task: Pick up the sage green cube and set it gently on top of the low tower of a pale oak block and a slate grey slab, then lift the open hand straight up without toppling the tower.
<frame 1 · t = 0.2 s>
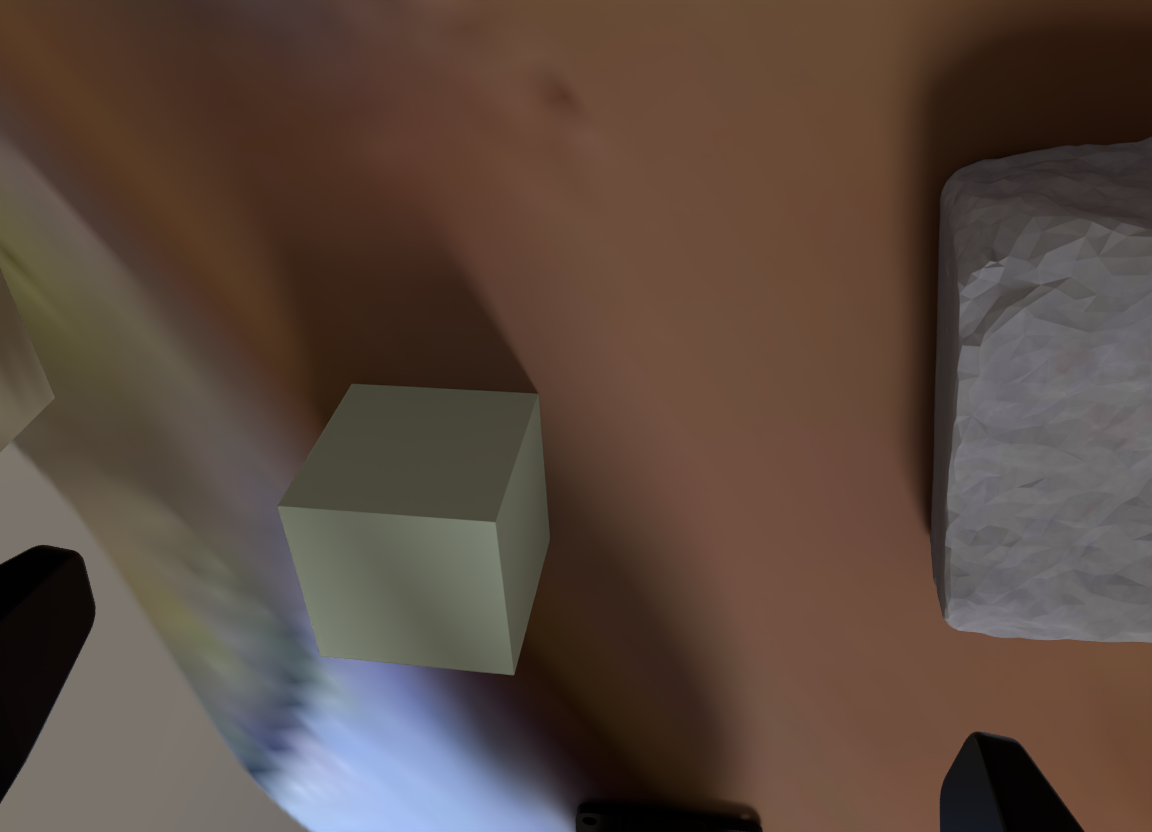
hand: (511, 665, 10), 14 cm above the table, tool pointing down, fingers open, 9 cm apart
sage cube: (455, 462, 27), on the table
stone block: (1151, 360, 23), on the table
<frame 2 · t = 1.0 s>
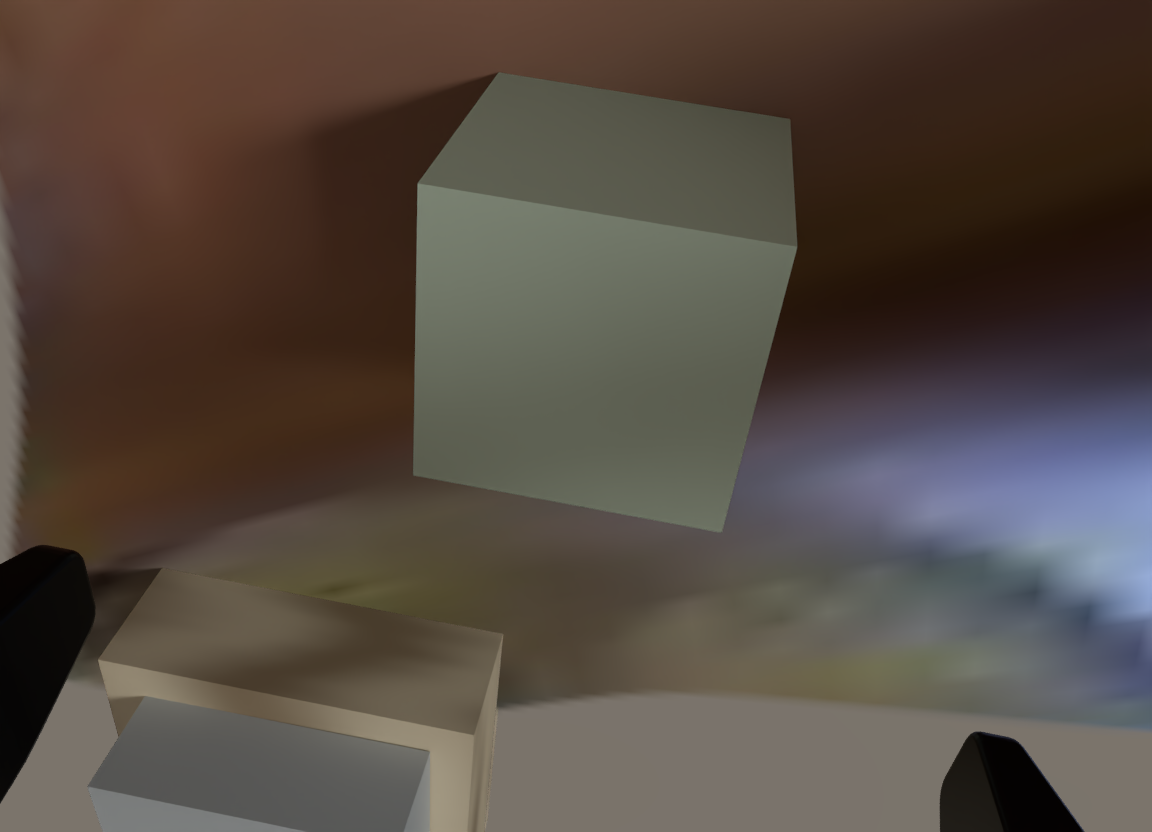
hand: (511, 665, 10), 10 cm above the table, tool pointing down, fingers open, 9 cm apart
oak base block: (342, 698, 29), on the table, touching slate slab
slate slab: (297, 808, 26), point 3 cm above the table, touching oak base block
sage cube: (623, 228, 18), on the table
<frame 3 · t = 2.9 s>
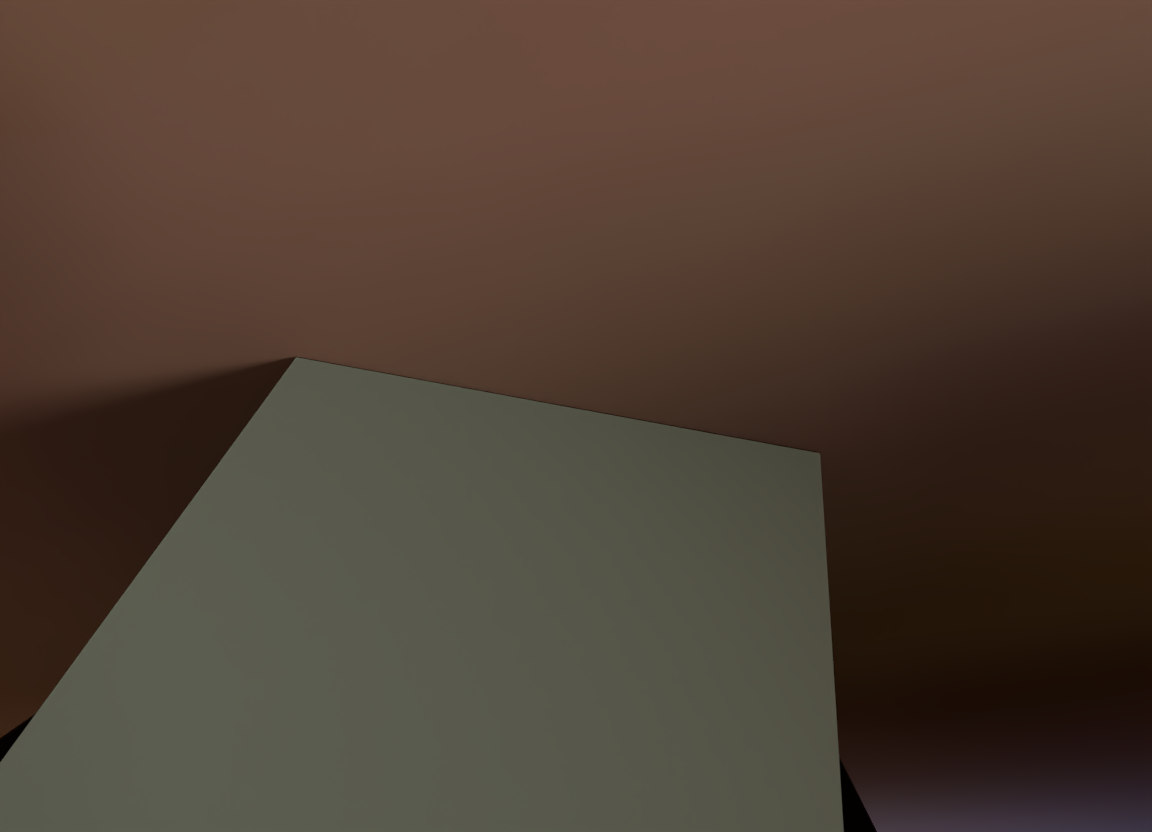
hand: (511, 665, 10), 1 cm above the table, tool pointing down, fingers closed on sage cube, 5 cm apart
sage cube: (531, 590, 11), on the table, touching gripper
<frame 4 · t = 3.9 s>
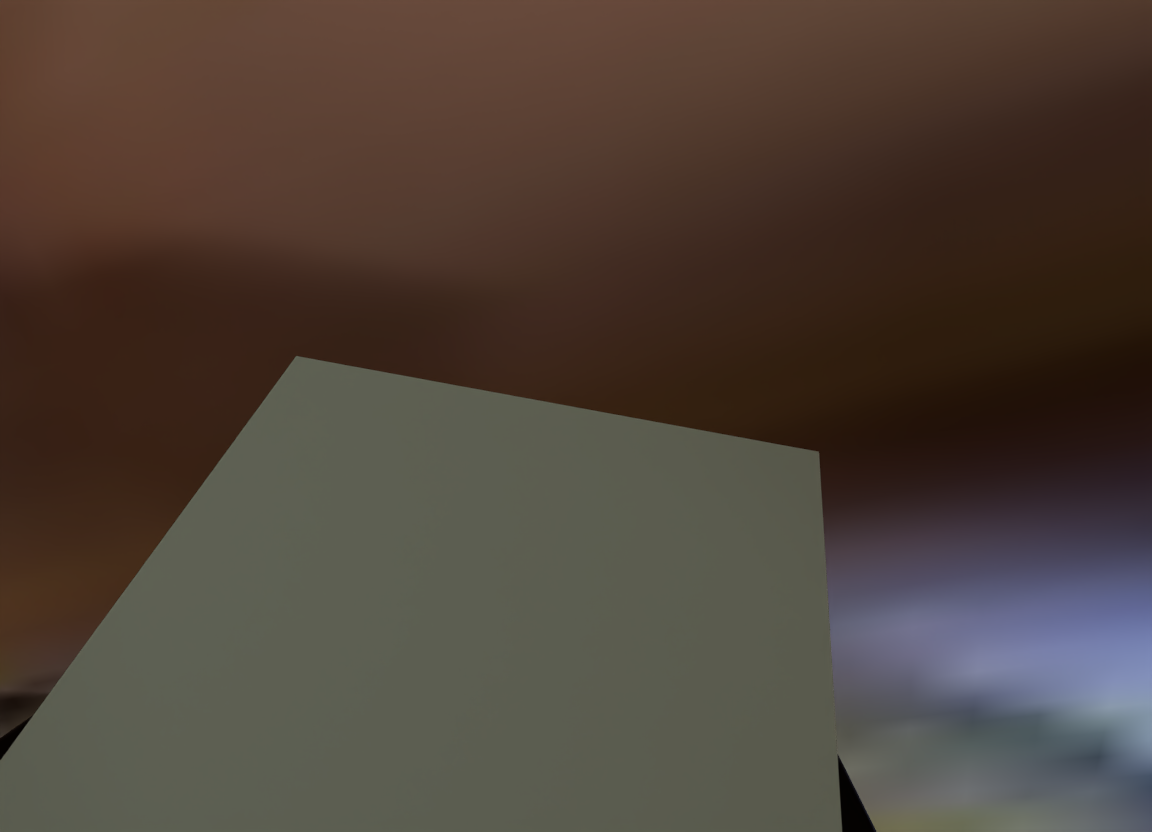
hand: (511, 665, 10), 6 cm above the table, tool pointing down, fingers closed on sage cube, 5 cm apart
sage cube: (531, 589, 11), point 5 cm above the table, touching gripper
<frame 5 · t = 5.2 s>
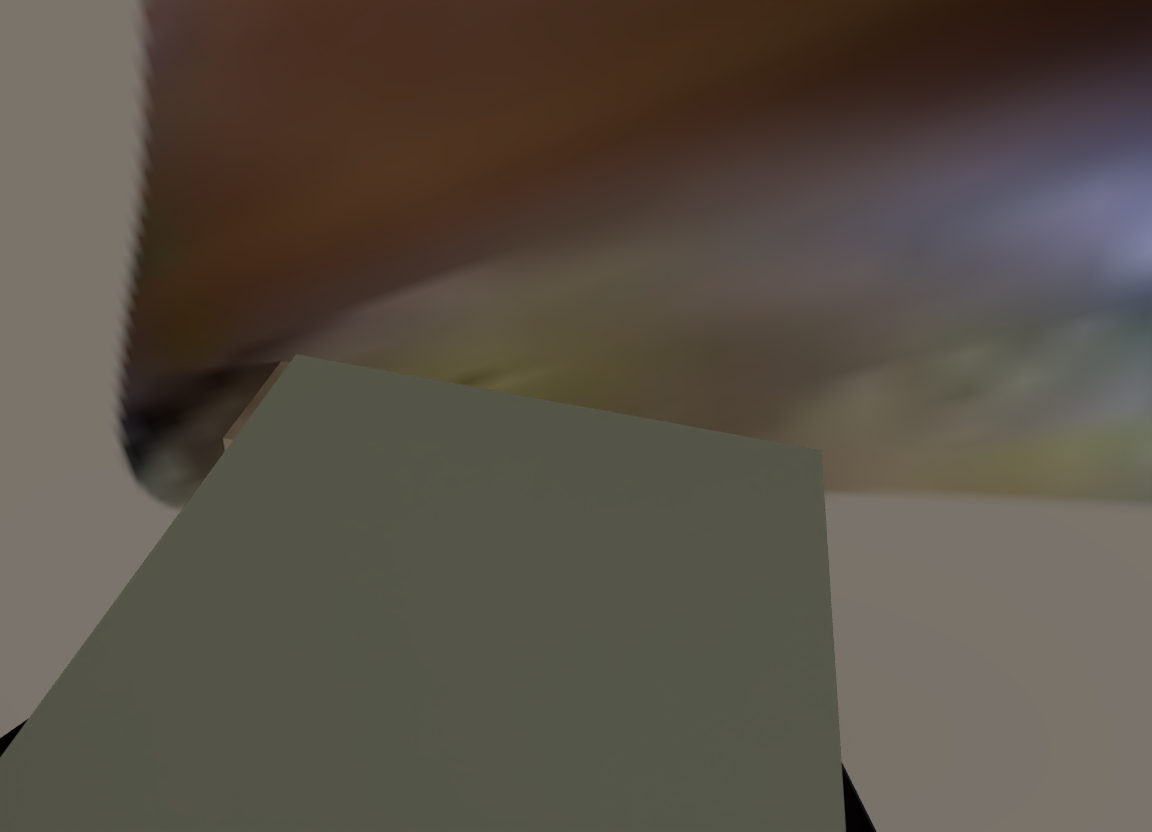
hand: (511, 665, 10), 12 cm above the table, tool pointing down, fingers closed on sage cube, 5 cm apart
oak base block: (463, 521, 27), on the table, touching slate slab
sage cube: (532, 588, 11), point 11 cm above the table, touching gripper
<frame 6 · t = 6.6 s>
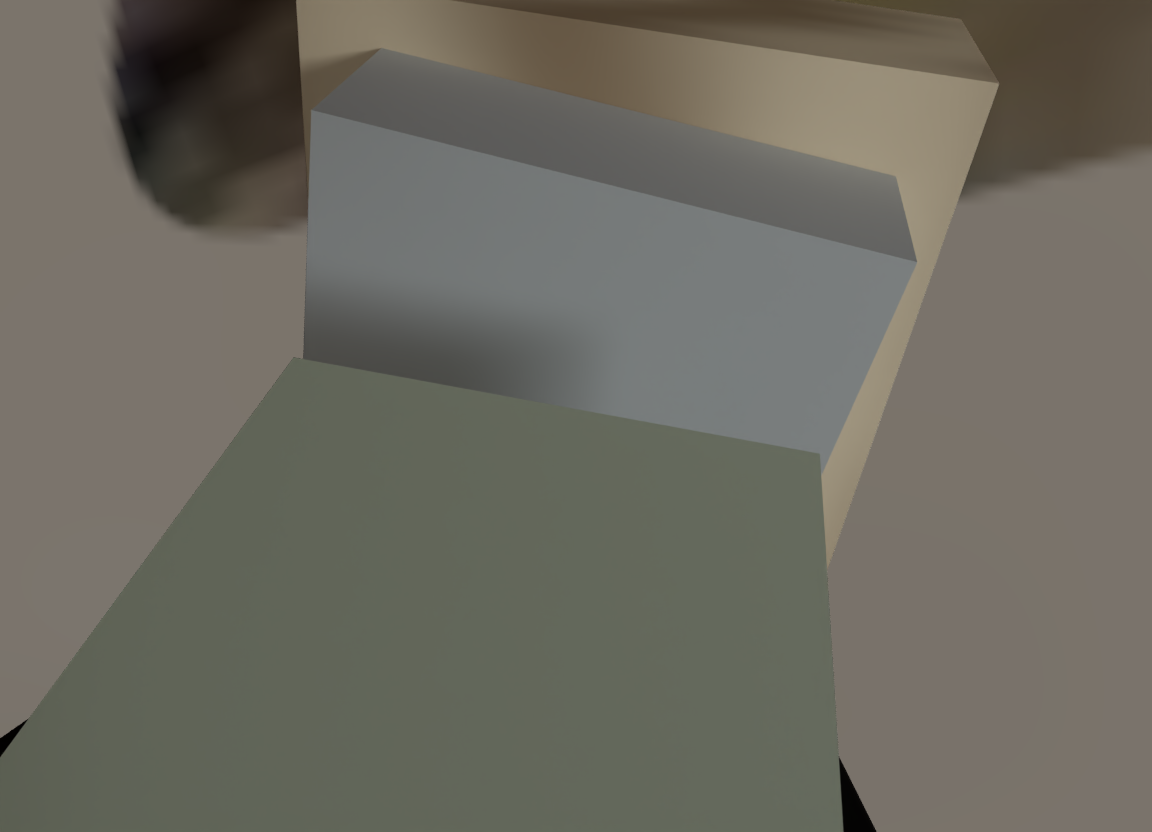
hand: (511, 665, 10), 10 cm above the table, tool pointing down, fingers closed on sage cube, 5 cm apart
oak base block: (624, 234, 18), on the table, touching slate slab
slate slab: (585, 331, 15), point 3 cm above the table, touching oak base block
sage cube: (530, 591, 11), point 9 cm above the table, touching gripper
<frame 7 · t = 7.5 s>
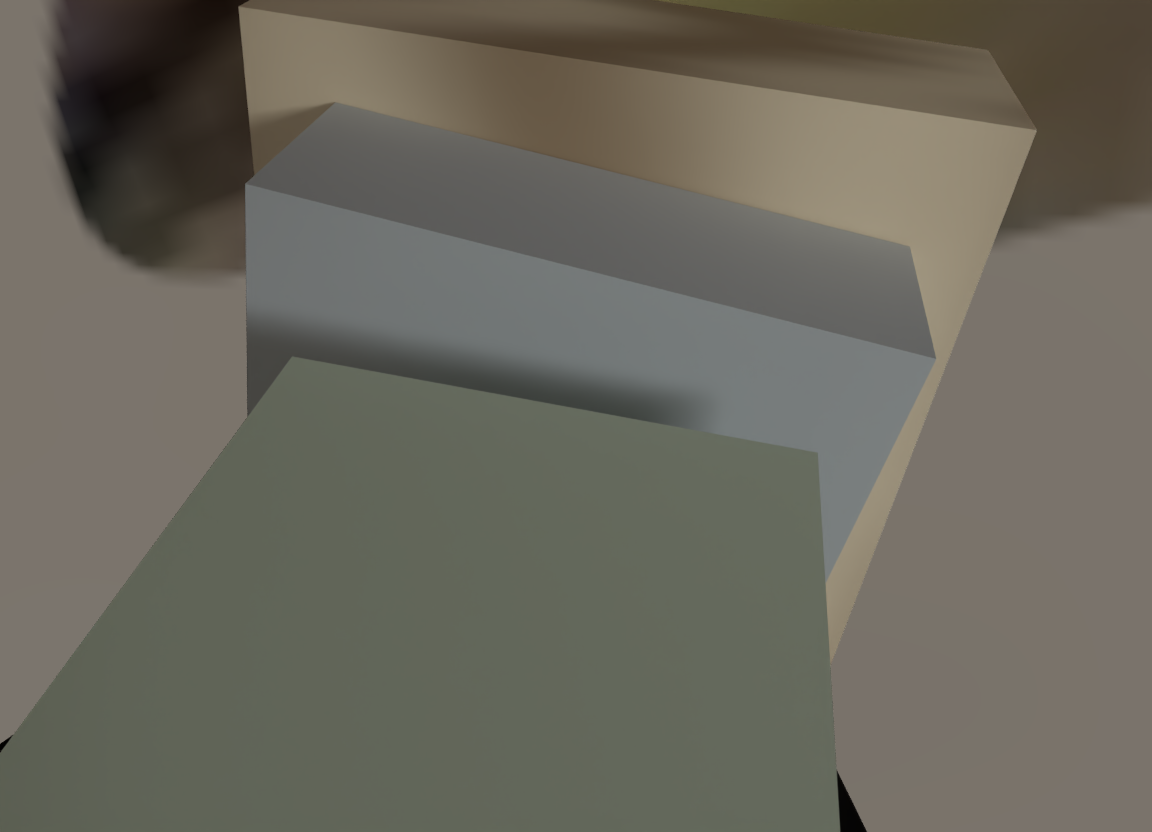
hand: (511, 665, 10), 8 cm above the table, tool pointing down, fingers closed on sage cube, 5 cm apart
oak base block: (616, 278, 17), on the table, touching slate slab
slate slab: (566, 406, 14), point 3 cm above the table, touching oak base block
sage cube: (528, 590, 11), point 7 cm above the table, touching gripper
when the fingers open (8 cm above the table, at t = 7.8 s): sage cube drops 1 cm, resting on slate slab.
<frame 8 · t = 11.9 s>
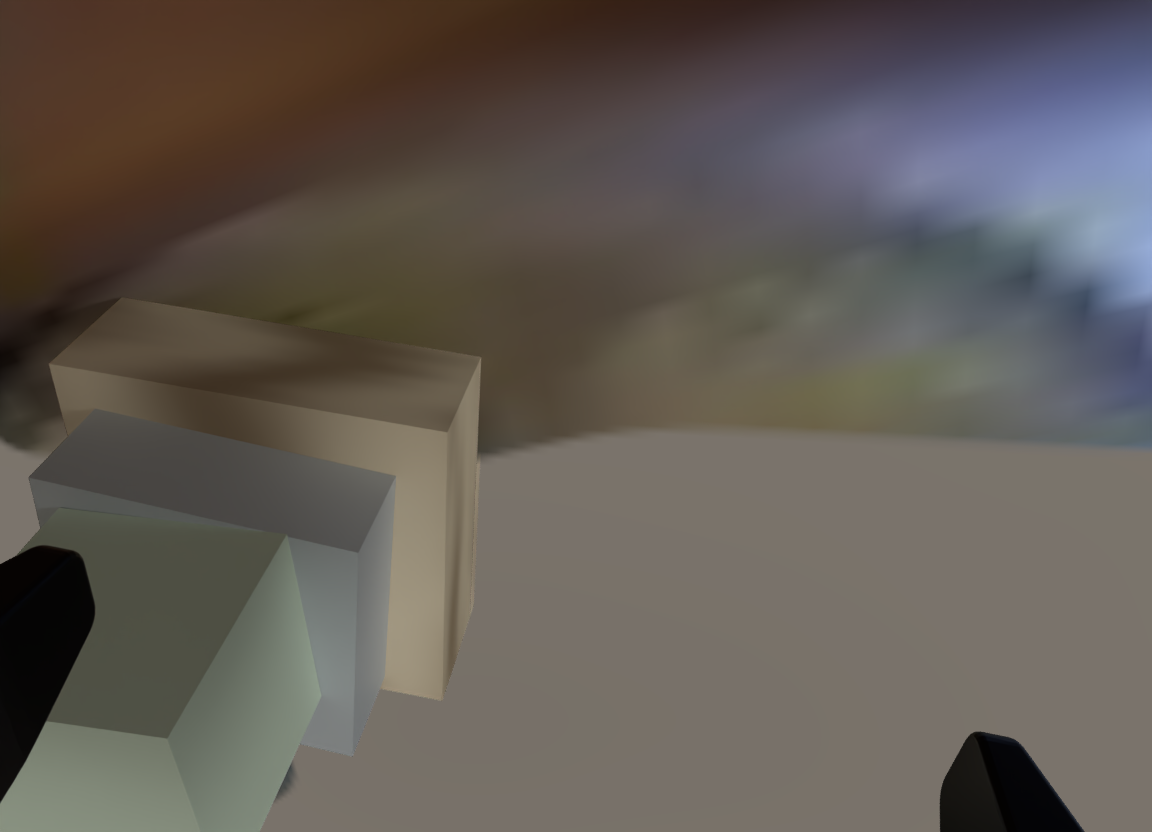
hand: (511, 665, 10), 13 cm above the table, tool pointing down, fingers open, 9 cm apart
oak base block: (316, 460, 27), on the table, touching slate slab
slate slab: (251, 552, 24), point 3 cm above the table, touching oak base block, sage cube
sage cube: (197, 606, 22), point 6 cm above the table, touching slate slab
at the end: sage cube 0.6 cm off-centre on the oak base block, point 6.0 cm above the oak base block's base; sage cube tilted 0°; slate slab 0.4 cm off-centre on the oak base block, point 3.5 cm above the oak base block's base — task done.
